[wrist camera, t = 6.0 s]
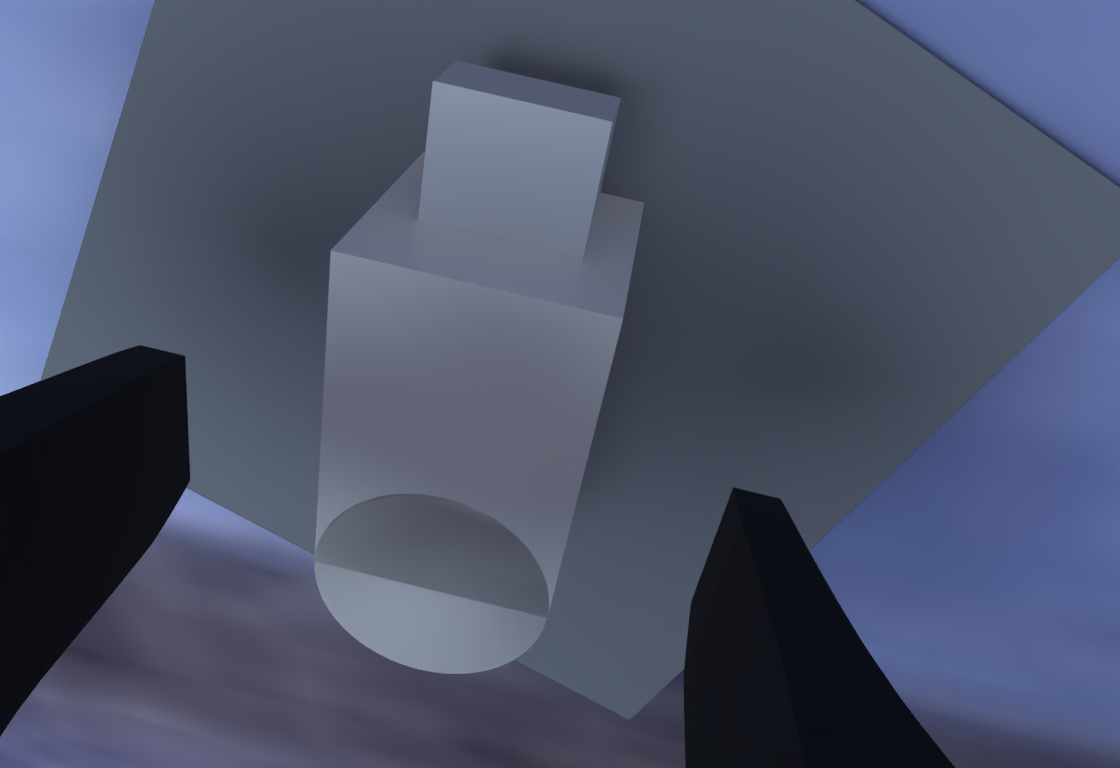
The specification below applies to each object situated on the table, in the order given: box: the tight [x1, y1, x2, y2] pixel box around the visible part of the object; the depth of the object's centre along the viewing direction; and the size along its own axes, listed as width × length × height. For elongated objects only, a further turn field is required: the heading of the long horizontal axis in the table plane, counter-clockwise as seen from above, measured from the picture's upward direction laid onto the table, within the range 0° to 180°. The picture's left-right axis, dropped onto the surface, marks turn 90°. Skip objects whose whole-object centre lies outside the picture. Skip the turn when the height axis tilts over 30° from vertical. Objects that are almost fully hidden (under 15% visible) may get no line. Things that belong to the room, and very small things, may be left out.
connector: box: [314, 61, 644, 674], centre depth 13 cm, size 8×4×4 cm, turn 170°
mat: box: [41, 0, 1120, 720], centre depth 15 cm, size 14×14×1 cm
